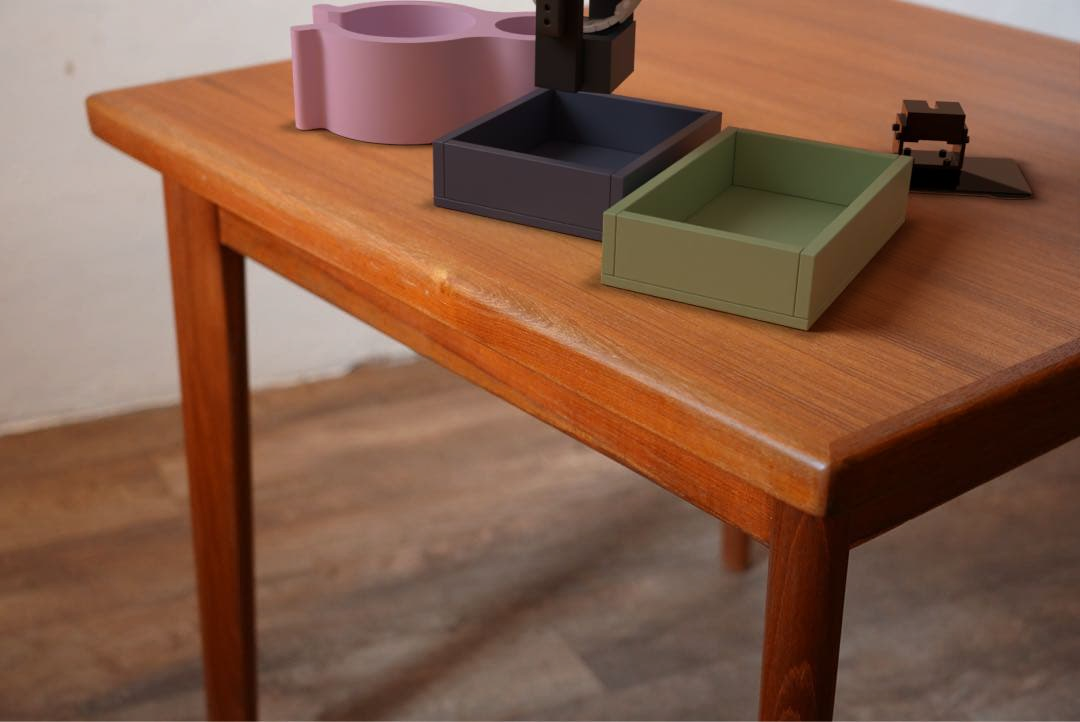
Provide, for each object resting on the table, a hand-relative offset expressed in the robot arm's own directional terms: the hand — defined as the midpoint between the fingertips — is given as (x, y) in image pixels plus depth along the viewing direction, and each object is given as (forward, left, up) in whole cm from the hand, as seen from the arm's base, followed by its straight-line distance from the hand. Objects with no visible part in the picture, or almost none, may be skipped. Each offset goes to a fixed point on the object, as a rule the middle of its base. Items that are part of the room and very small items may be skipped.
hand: (584, 74), depth 87 cm
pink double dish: (+15, -8, -8) cm, 19 cm away
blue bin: (0, 0, -7) cm, 7 cm away
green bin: (-14, +4, -7) cm, 16 cm away
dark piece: (-18, -14, -8) cm, 24 cm away
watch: (0, 0, -1) cm, 1 cm away
